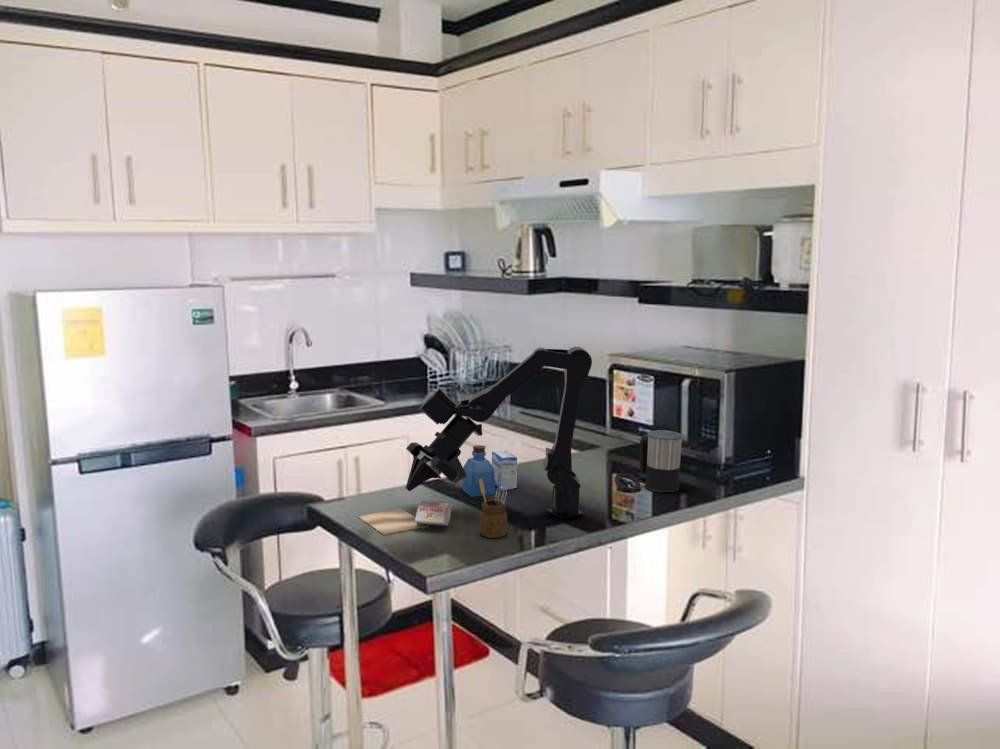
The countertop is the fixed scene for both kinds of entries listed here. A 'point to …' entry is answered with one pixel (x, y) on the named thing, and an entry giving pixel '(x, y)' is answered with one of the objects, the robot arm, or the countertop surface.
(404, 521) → the cork mat
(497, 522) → the utensil holder
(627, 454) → the countertop surface
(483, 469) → the perfume bottle
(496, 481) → the medicine box
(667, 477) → the milk frother
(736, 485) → the countertop surface
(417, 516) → the small cardboard carton
